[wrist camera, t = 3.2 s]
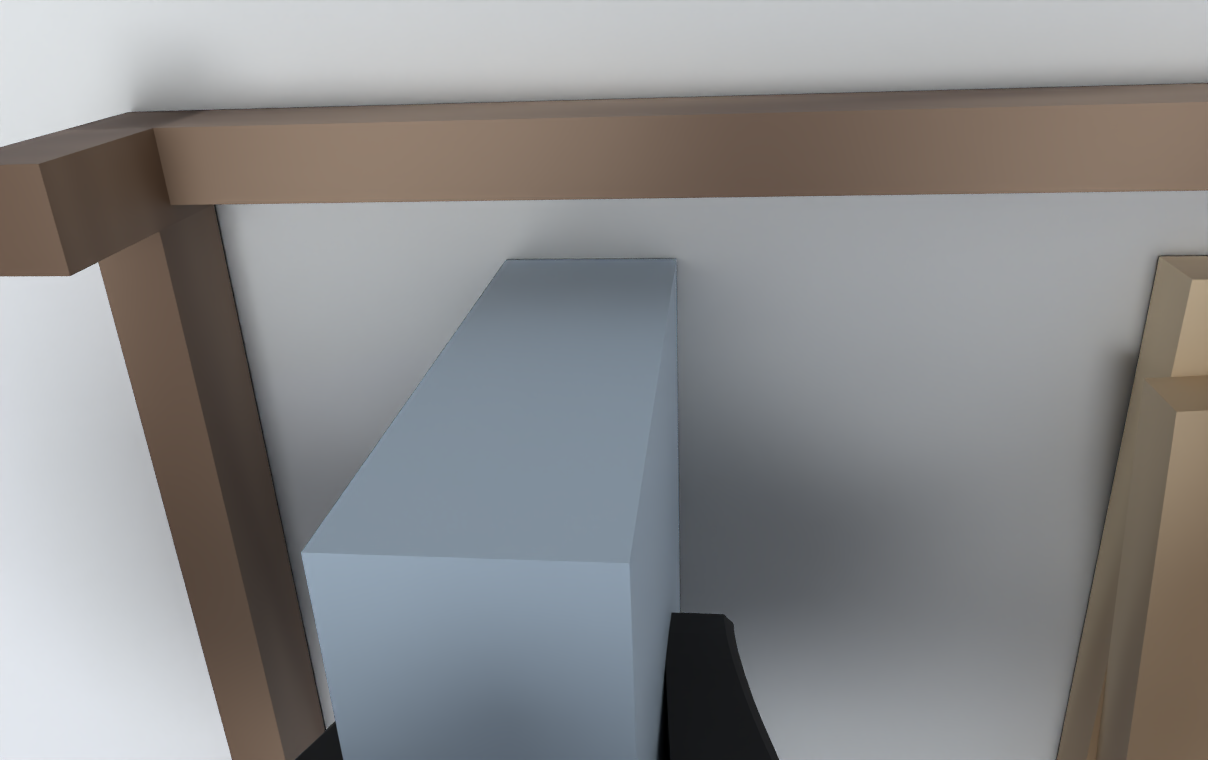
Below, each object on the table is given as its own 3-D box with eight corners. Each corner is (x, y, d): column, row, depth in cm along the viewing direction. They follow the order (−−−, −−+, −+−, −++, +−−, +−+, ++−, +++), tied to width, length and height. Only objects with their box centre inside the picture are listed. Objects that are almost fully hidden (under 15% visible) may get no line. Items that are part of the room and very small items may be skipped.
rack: (1653, 70, 9) (2050, 123, 6) (1308, 952, 14) (1447, 1189, 11) (128, 112, 11) (-68, 166, 8) (311, 876, 16) (228, 1064, 13)
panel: (676, 258, 11) (628, 562, 6) (682, 822, 15) (657, 1338, 9) (506, 259, 11) (300, 553, 6) (554, 814, 15) (456, 1311, 9)
